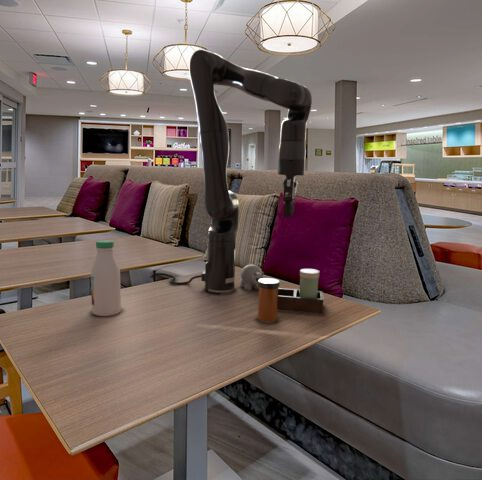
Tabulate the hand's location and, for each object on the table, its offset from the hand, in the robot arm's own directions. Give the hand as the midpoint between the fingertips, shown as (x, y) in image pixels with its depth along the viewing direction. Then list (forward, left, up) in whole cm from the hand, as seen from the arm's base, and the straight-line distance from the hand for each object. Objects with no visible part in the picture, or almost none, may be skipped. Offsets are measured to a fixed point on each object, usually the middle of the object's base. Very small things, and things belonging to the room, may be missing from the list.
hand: (288, 215), depth 120 cm
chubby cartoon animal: (-11, +13, -28) cm, 32 cm away
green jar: (+7, -1, -27) cm, 28 cm away
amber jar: (-4, -13, -27) cm, 30 cm away
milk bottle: (-48, -18, -28) cm, 58 cm away
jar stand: (+3, -1, -27) cm, 28 cm away
